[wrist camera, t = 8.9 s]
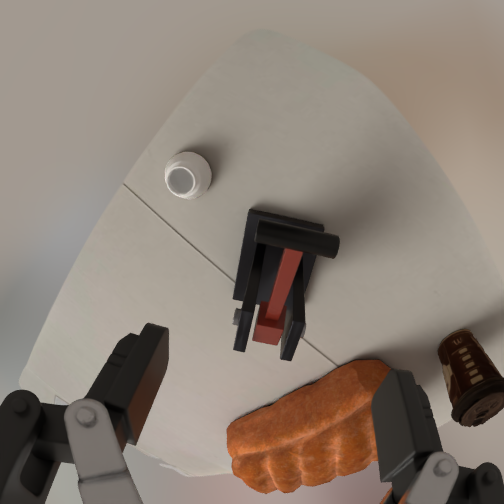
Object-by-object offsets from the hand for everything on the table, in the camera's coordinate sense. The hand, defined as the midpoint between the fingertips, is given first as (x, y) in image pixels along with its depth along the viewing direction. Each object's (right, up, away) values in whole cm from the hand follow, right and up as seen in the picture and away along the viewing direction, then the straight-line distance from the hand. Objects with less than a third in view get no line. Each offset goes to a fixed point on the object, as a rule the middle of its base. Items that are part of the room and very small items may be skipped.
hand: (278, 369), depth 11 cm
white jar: (-8, +12, +23) cm, 27 cm away
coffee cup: (+29, -10, +29) cm, 42 cm away
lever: (+1, +2, +14) cm, 14 cm away
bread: (+10, -23, +38) cm, 46 cm away
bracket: (+2, +3, +26) cm, 26 cm away
